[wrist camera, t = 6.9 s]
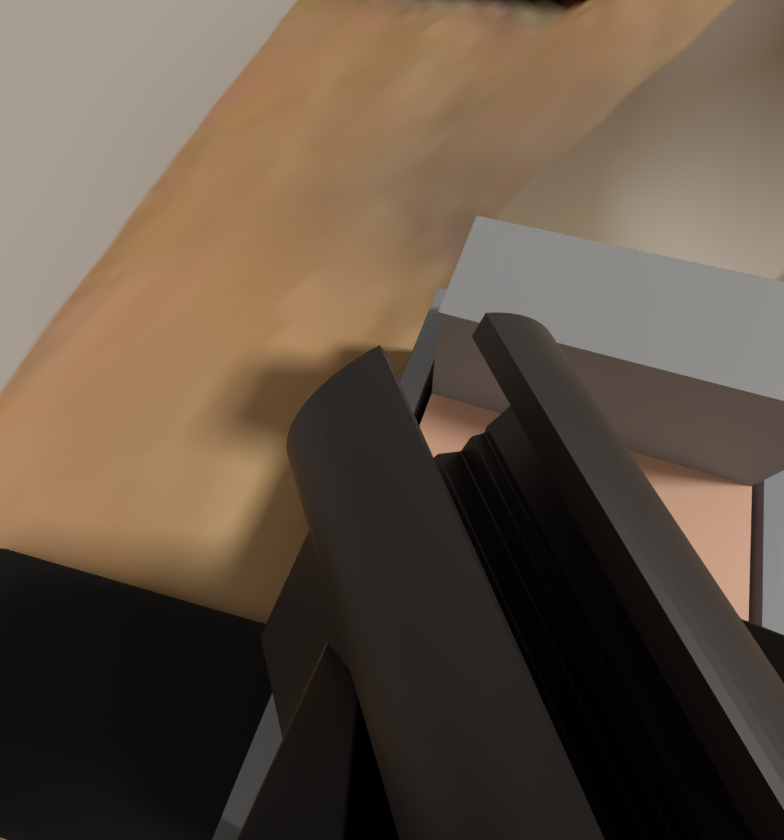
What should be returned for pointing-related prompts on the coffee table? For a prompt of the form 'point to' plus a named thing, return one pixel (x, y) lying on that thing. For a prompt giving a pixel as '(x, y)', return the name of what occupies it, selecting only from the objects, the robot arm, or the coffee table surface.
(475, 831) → the phone stand
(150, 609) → the cell phone
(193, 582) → the coffee table surface
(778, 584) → the flap frame
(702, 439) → the flap
